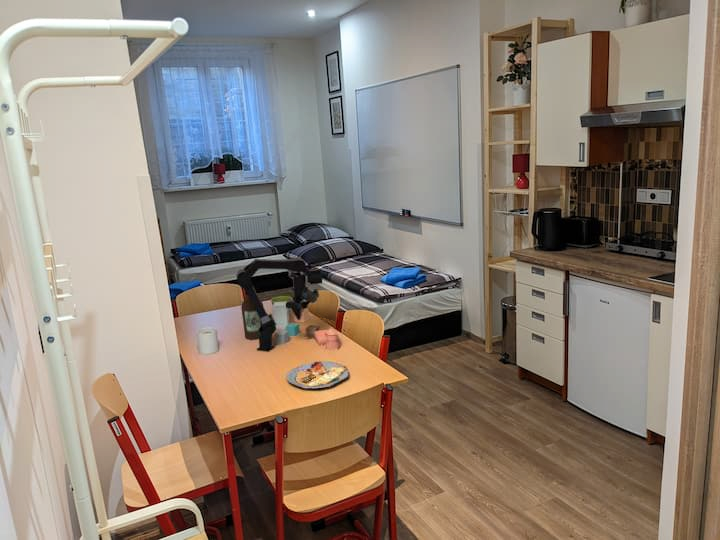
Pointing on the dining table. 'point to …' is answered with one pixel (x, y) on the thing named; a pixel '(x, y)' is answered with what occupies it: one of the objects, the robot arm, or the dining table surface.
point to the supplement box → (281, 315)
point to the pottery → (327, 338)
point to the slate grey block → (281, 337)
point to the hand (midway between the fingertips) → (301, 317)
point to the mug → (207, 340)
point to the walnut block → (311, 330)
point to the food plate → (319, 368)
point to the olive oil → (250, 319)
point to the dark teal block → (293, 329)
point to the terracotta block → (302, 315)
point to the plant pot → (281, 300)
